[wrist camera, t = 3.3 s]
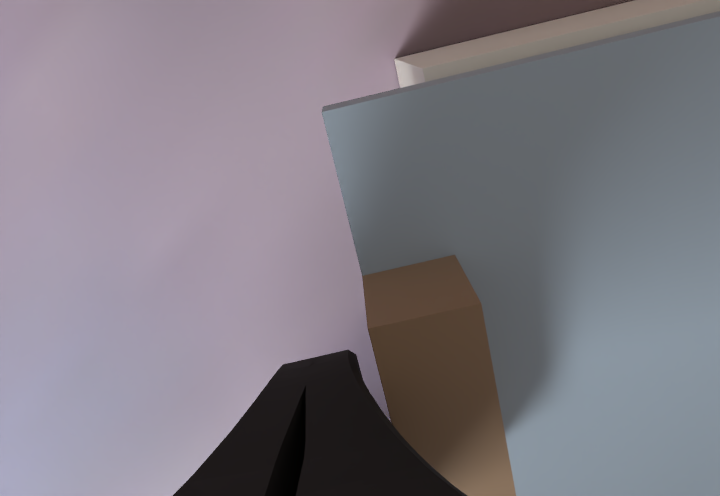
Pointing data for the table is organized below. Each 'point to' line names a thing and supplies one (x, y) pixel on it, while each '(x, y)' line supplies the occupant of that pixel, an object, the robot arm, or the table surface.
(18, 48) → the table surface
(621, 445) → the lid
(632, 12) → the box
